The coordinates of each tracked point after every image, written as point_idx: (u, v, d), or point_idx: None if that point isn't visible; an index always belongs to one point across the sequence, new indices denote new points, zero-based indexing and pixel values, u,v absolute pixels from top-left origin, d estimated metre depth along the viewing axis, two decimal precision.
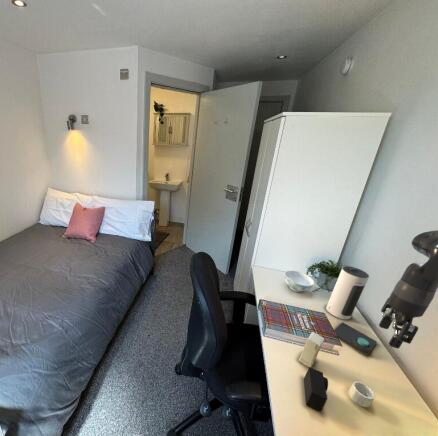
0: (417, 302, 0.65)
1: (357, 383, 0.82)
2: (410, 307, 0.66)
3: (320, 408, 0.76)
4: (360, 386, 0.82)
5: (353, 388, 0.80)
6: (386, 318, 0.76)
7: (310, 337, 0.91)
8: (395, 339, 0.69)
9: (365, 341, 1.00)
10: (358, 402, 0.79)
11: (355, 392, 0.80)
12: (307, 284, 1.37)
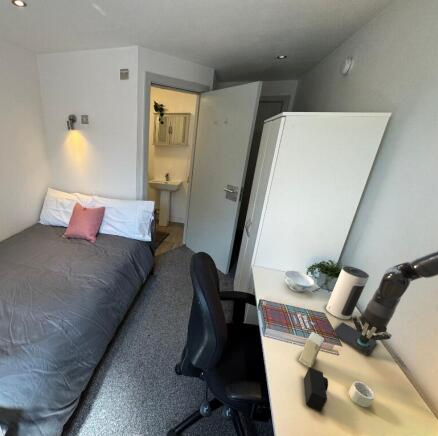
0: None
1: (357, 383, 0.82)
2: (388, 321, 0.91)
3: (320, 408, 0.76)
4: (360, 386, 0.82)
5: (353, 388, 0.80)
6: (365, 335, 0.99)
7: (310, 337, 0.91)
8: (368, 338, 0.98)
9: None
10: (358, 402, 0.79)
11: (355, 392, 0.80)
12: (307, 284, 1.37)
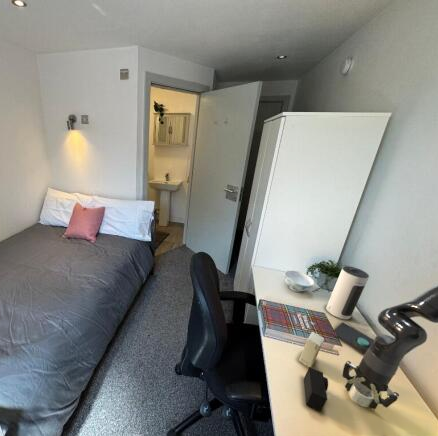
0: (394, 373, 0.72)
1: (357, 383, 0.82)
2: (390, 379, 0.72)
3: (320, 408, 0.76)
4: (360, 386, 0.82)
5: (353, 388, 0.80)
6: (352, 383, 0.82)
7: (310, 337, 0.91)
8: (376, 403, 0.77)
9: (365, 341, 1.00)
10: (358, 402, 0.79)
11: (355, 392, 0.80)
12: (307, 284, 1.37)
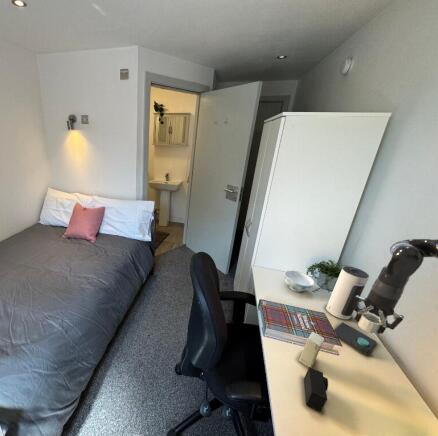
0: None
1: (366, 314, 0.91)
2: (396, 302, 0.82)
3: (320, 408, 0.76)
4: (368, 317, 0.91)
5: (362, 318, 0.89)
6: (361, 314, 0.91)
7: (310, 337, 0.91)
8: (383, 328, 0.86)
9: (365, 341, 1.00)
10: (367, 329, 0.88)
11: (364, 321, 0.89)
12: (307, 284, 1.37)
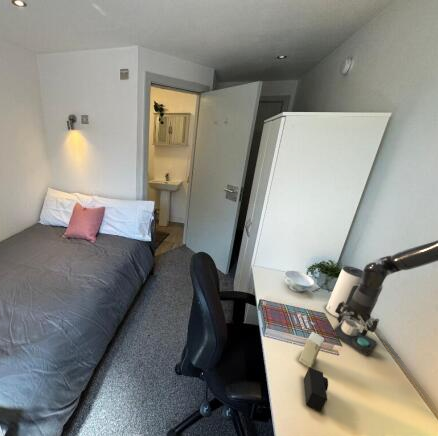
0: None
1: (347, 320, 1.08)
2: (372, 309, 0.99)
3: (320, 408, 0.76)
4: (350, 322, 1.09)
5: (344, 323, 1.07)
6: (342, 316, 1.08)
7: (310, 337, 0.91)
8: (365, 330, 1.02)
9: (365, 341, 1.00)
10: (348, 332, 1.06)
11: (346, 325, 1.06)
12: (307, 284, 1.37)
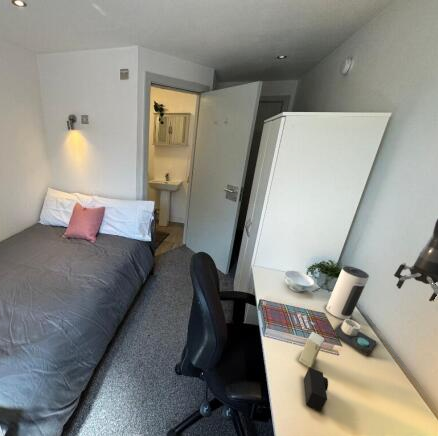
0: None
1: (347, 320, 1.08)
2: None
3: (320, 408, 0.76)
4: (350, 322, 1.09)
5: (344, 323, 1.07)
6: (403, 280, 0.92)
7: (310, 337, 0.91)
8: (436, 295, 0.85)
9: (365, 341, 1.00)
10: (348, 332, 1.06)
11: (346, 325, 1.06)
12: (307, 284, 1.37)
